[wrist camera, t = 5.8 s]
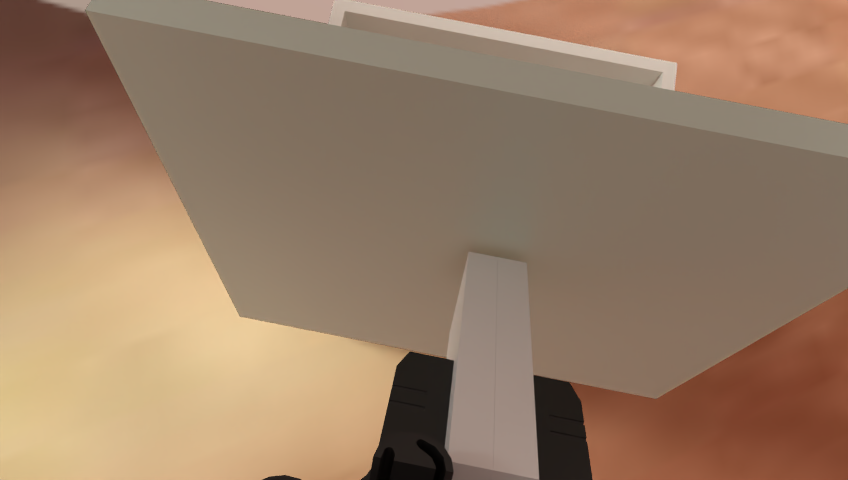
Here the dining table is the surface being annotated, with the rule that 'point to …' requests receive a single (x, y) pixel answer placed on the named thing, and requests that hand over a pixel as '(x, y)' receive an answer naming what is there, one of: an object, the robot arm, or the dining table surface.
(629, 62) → the storage box
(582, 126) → the lid
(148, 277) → the dining table surface
